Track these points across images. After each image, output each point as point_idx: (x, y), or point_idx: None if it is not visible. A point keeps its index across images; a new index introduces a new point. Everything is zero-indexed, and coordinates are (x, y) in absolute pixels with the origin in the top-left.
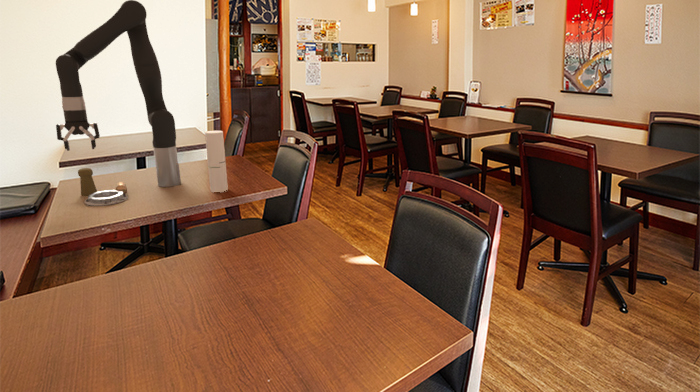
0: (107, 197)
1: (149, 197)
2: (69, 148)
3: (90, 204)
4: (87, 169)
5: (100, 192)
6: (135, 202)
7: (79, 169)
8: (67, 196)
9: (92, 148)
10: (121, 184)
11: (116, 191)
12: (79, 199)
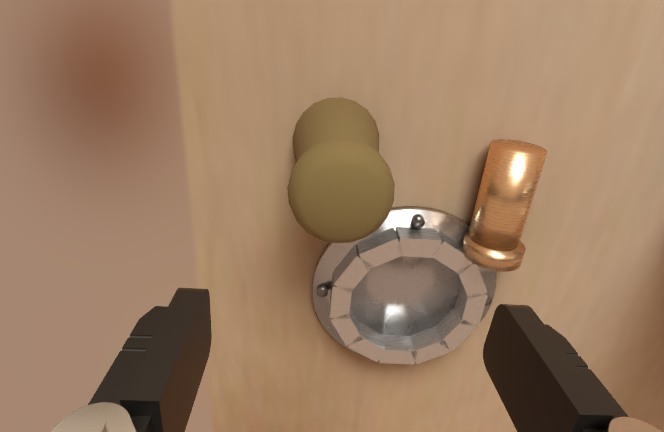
0: (406, 352)
1: (566, 330)
2: (203, 313)
3: (334, 338)
4: (361, 231)
5: (390, 260)
6: None
7: (302, 198)
8: (223, 122)
9: (490, 367)
10: (516, 216)
11: (462, 281)
12: (288, 215)
